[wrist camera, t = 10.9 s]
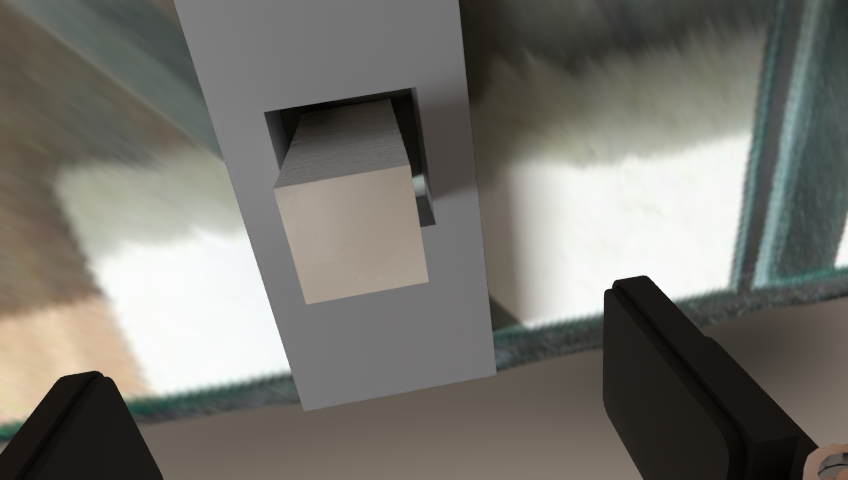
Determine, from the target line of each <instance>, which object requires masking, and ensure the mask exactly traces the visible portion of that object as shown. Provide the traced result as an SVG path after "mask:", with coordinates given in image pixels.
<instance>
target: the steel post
mask: <svg viewBox="0 0 848 480" xmlns="http://www.w3.org/2000/svg"><path fill="white" fill-rule="evenodd" d="M273 190H274V193H275V197H276V200H277V204H278V207H279V211H280V214H281V218H282V221H283V225H284V228H285V232H286V235H287V239H288V242H289V246H290V249H291V253H292V256H293V260H294V263H295V267H296V270H297V274H298V277H299V281H300V284H301V288H302V291H303V295H304V298H305V302H306V305H307V304H312V303H318V302H323V301H328V300H334V299H339V298H345V297H350V296H355V295H361V294H366V293H372V292H377V291H383V290H388V289H393V288H399V287H404V286H410V285H415V284H420V283H426V282H429V279H428V273H427V267H426V260H425V254H424V248H423V242H422V236H421V229H420V223H419V217H418V211H417V205H416V198H415V192H414V186H413V180H412V174H411V167H410V163H409V160H408V156H407V153H406V150H405V147H404V143H403V140H402V137H401V134H400V130H399V127H398V124H397V121H396V117H395V114H394V111H393V108H392V104H391V101H390V99H385V100H379V101H373V102H367V103H361V104H355V105H349V106H344V107H338V108H332V109H326V110H320V111H314V112H308V113H303V115H302V117H301V120H300V122H299V125H298V127H297V130H296V132H295V135H294V137H293V140H292V142H291V145H290V147H289V150H288V153H287V155H286V158H285V160H284V163H283V165H282V168H281V170H280V173H279V175H278V178H277V180H276V183H275V185H274V188H273Z"/></svg>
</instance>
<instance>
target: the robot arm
mask: <svg viewBox="0 0 848 480" xmlns="http://www.w3.org/2000/svg"><path fill="white" fill-rule="evenodd" d="M603 401H604V406H605V410H606V412H607V415H608V417H609V419H610V420H611V422H612V424H613V426H614V428H615V429H616V431H617V433H618V435H619V436H620V438H621V440H622V442H623V444H624V445H625V447H626V449H627V451H628V453H629V454H630V456H631V458H632V460H633V462H634V463H635V465H636V467H637V469H638V470H639V472H640V474H641V476H642V478H643V480H848V444H831V445H827V446H823V447H820V448H819V447H818V446H817V445H816V444H815V442H813V440H811V438H810V437H809V436H808V435H806V433H805V432H804V431H803V430H802V429H801V428H800V427H799V426H798V425H797V424H796V423H795V422H794V421H793V420H792V419H791V418H790V417H789V416H788V415H787V414H786V413H785V412H784V411H783V410H782V409H781V407H780V406H779V405H777V403H776V402H775V401H774V400H773V399H772V398H771V397H770V396H769V395H768V394H767V393H766V392H765V391H764V390H763V389H762V388H761V387H760V386H759V385H758V384H757V383H756V382H755V381H754V380H753V379H752V378H751V377H750V376H749V375H748V374H747V372H745V371H744V369H742V367H741V366H740V365H739V364H738V363H737V362H736V361H735V360H734V359H733V358H732V357H731V356H730V355H729V354H728V353H727V352H726V351H725V350H724V349H723V348H722V347H721V346H720V345H719V344H718V343H717V342H716V341H715V340H713V339H712V338H711V337H707V336H704V335H703V334H702V333H701V332H700V330H699V329H698V328H697V327H696V326H695V325H694V324H693V323H692V322H691V321H690V320H689V319H688V318H687V317H686V316H685V315H684V314H683V313H682V312H681V311H680V309H679V308H678V307H677V306H676V305H675V304H674V303H673V302H672V301H671V300H670V299H669V298H668V297H667V296H666V295H665V294H664V293H663V292H662V291H661V290H660V289H659V287H658V286H657V285H656V284H655V283H654V282H653V281H652V280H651V279H650V278H649V277H647V276H644V275H643V276H637V277H631V278H625V279H620V280H616V281H614V283H613V285H612V289H607V290H606V291H605V293H604V335H603ZM0 480H163V477H162V474H161V472H160V470H159V468H158V467H157V464H156V462H155V461H154V459H153V457H152V455H151V453H150V451H149V449H148V447H147V445H146V443H145V441H144V439H143V437H142V435H141V433H140V431H139V429H138V427H137V425H136V423H135V421H134V420H133V418H132V416H131V414H130V412H129V410H128V408H127V406H126V404H125V402H124V400H123V398H122V396H121V394H120V392H119V390H118V388H117V386H116V384H115V383H114V381H113V380H112V379H111V378H110V377H104V376H103V374H101V373H100V372H99V371H90V372H84V373H79V374H73V375H67V376H63V377H61V378H60V379H59V380H58V381H56V383H55V384H54V385H53V387H52V388H51V389H50V391H49V392H48V393H47V394H46V396H45V397H44V398H43V400H42V401H41V402H40V404H39V405H38V406H37V407H36V409H35V410H34V411H33V413H32V414H31V415H30V417H29V418H28V419H27V420H26V422H25V423H24V424H23V426H22V427H21V428H20V430H19V431H18V432H17V433H16V435H15V436H14V437H13V439H12V440H11V441H10V443H9V444H8V445H7V447H6V448H5V449H4V450H3V452H2V453H1V454H0Z"/></svg>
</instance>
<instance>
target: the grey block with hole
mask: <svg viewBox="0 0 848 480" xmlns="http://www.w3.org/2000/svg"><path fill="white" fill-rule="evenodd" d="M174 3H175V6H176V9H177V13H178V16H179V19H180V22H181V25H182V28H183V32H184V35H185V38H186V41H187V44H188V47H189V50H190V54H191V57H192V60H193V63H194V66H195V69H196V72H197V76H198V79H199V82H200V85H201V88H202V91H203V94H204V98H205V101H206V104H207V107H208V110H209V113H210V117H211V120H212V123H213V126H214V129H215V132H216V135H217V139H218V142H219V145H220V148H221V151H222V154H223V157H224V161H225V164H226V167H227V170H228V173H229V176H230V180H231V183H232V186H233V189H234V192H235V195H236V198H237V202H238V205H239V208H240V211H241V214H242V217H243V220H244V224H245V227H246V230H247V233H248V236H249V239H250V242H251V246H252V249H253V252H254V255H255V258H256V261H257V265H258V268H259V271H260V274H261V277H262V280H263V283H264V287H265V290H266V293H267V296H268V299H269V302H270V305H271V309H272V312H273V315H274V318H275V321H276V324H277V328H278V331H279V334H280V337H281V340H282V343H283V346H284V350H285V353H286V356H287V359H288V362H289V365H290V368H291V372H292V375H293V378H294V381H295V384H296V387H297V390H298V394H299V397H300V400H301V403H302V406H303V409H304V411H309V410H314V409H319V408H324V407H330V406H335V405H340V404H345V403H351V402H356V401H361V400H366V399H372V398H377V397H382V396H388V395H393V394H398V393H403V392H409V391H413V390H419V389H424V388H430V387H435V386H440V385H445V384H451V383H456V382H461V381H467V380H472V379H477V378H482V377H488V376H493V375H497V374H496V364H495V354H494V344H493V335H492V325H491V315H490V305H489V295H488V285H487V276H486V266H485V256H484V246H483V236H482V227H481V217H480V207H479V197H478V187H477V178H476V168H475V158H474V148H473V138H472V128H471V119H470V109H469V99H468V89H467V79H466V70H465V60H464V50H463V40H462V30H461V21H460V11H459V1H458V0H174ZM406 88H411V95H412V101H413V108H414V115H415V122H416V128H417V135H418V142H419V149H420V155H421V162H422V169H423V176H424V182H425V189H426V197H421V198H416V205H417V211H418V217H419V223H420V229H421V236H422V242H423V248H424V254H425V260H426V267H427V273H428V279H429V282H426V283H420V284H415V285H410V286H404V287H399V288H393V289H388V290H383V291H377V292H372V293H366V294H361V295H355V296H350V297H345V298H339V299H334V300H328V301H323V302H318V303H312V304H307V305H306V302H305V298H304V295H303V291H302V288H301V284H300V281H299V277H298V274H297V270H296V267H295V263H294V260H293V256H292V253H291V249H290V246H289V242H288V239H287V235H286V232H285V228H284V225H283V221H282V218H281V214H280V211H279V207H278V204H277V200H276V197H275V193H274V190H273V188H274V185H275V183H276V180H277V178H278V175H279V173H280V170H281V168H282V165H283V163H284V160H285V158H286V155H287V153H288V150H289V145H288V141H287V137H286V134H285V130H284V126H283V122H282V118H281V114H280V110H279V109H285V108H291V107H297V106H303V105H310V104H316V103H322V102H328V101H334V100H340V99H346V98H352V97H358V96H364V95H370V94H376V93H382V92H388V91H394V90H400V89H406Z"/></svg>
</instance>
